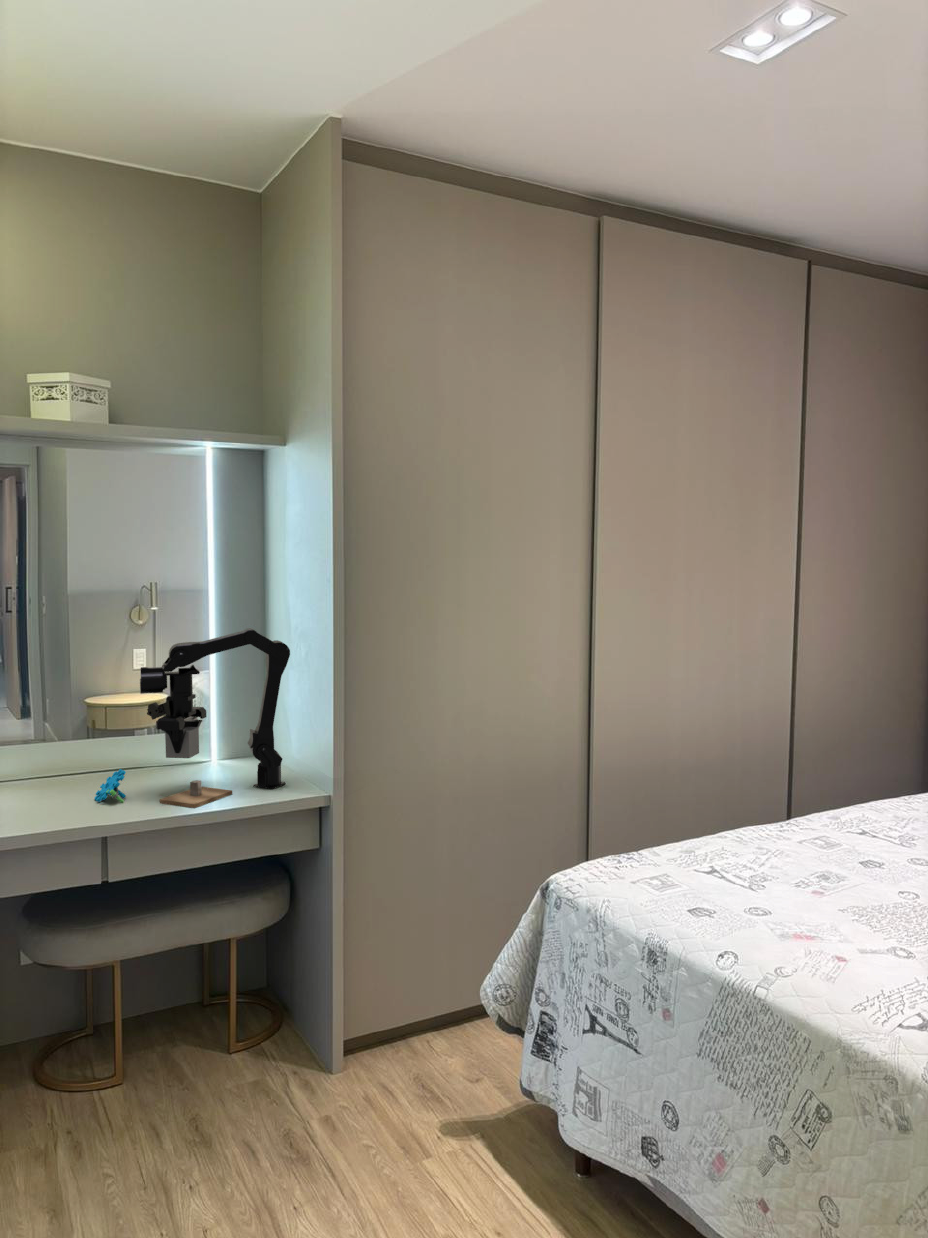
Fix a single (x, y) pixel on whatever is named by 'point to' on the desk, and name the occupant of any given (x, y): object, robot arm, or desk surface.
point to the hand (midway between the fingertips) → (182, 750)
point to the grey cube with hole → (184, 744)
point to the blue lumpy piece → (111, 787)
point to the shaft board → (196, 796)
